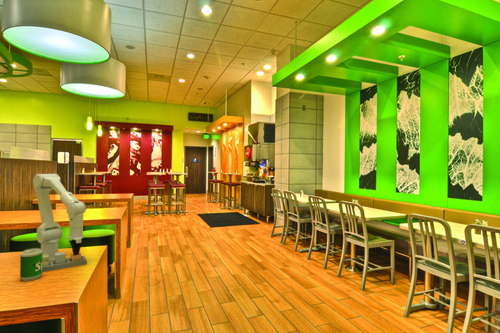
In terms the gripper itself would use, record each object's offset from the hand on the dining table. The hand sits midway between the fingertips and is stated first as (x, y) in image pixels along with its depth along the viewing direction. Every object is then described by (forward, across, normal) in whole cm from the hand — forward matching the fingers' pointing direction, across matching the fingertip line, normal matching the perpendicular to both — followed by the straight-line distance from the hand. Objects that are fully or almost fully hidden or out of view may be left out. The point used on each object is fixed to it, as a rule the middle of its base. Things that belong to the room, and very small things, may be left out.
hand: (76, 254), depth 137 cm
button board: (+4, 0, -6) cm, 8 cm away
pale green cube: (+2, 0, -6) cm, 7 cm away
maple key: (+2, 0, -13) cm, 13 cm away
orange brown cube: (+4, 0, 0) cm, 4 cm away
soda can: (+5, +9, -18) cm, 20 cm away
